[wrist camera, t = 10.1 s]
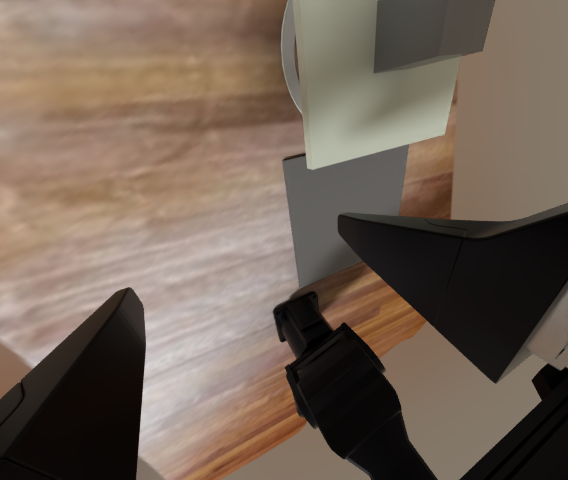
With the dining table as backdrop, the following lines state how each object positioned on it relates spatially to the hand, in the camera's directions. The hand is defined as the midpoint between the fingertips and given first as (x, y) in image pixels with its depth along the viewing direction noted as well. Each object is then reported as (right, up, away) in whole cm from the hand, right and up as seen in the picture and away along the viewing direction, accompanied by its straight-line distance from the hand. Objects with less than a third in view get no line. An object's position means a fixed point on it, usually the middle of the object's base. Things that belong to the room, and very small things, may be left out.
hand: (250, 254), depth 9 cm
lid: (+9, +14, +6) cm, 18 cm away
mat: (+10, +4, +18) cm, 20 cm away
